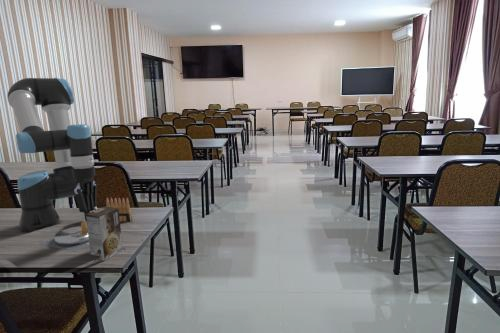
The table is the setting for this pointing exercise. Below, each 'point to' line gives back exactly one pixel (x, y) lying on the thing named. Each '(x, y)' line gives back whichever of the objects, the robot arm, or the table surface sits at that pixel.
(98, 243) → the coffee box
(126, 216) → the ammunition clip
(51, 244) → the panel
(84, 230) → the dial
